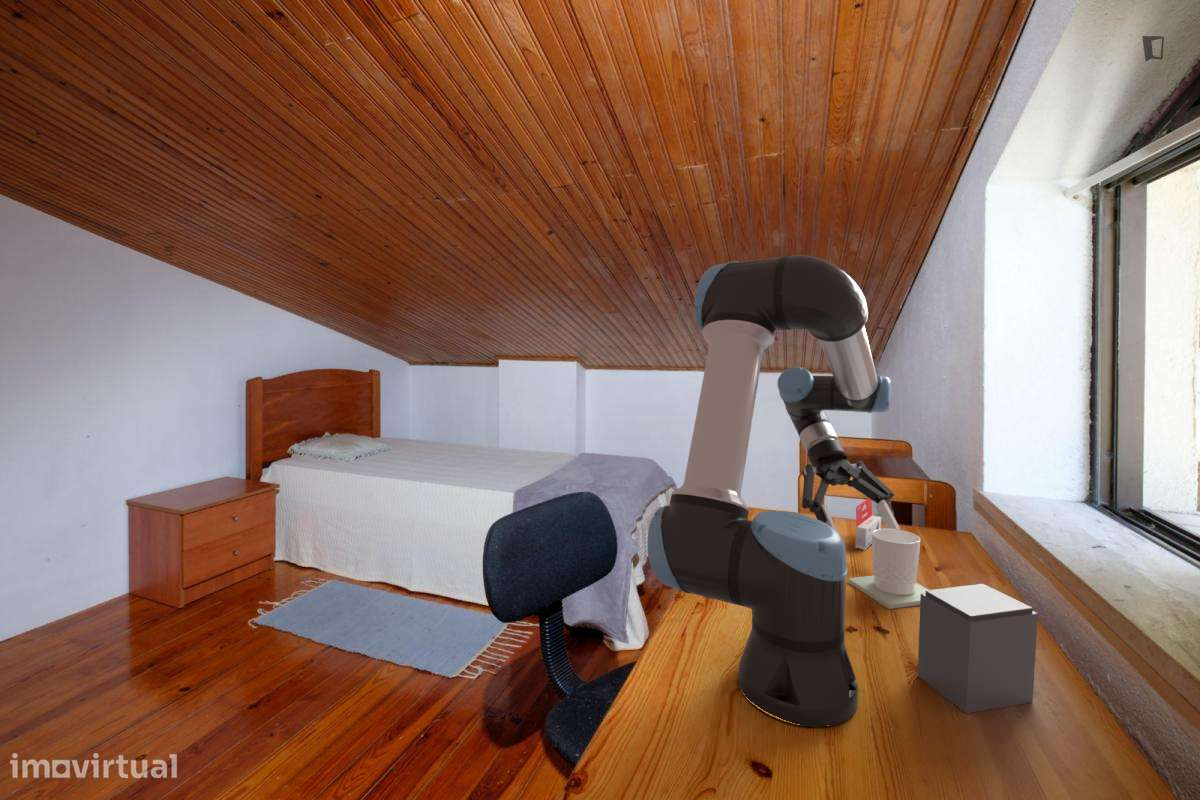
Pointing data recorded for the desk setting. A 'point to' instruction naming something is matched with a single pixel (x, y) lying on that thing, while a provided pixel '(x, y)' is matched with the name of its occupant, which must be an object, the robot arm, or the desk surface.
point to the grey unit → (977, 647)
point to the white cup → (895, 560)
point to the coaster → (885, 598)
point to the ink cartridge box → (865, 525)
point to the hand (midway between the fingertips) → (865, 534)
